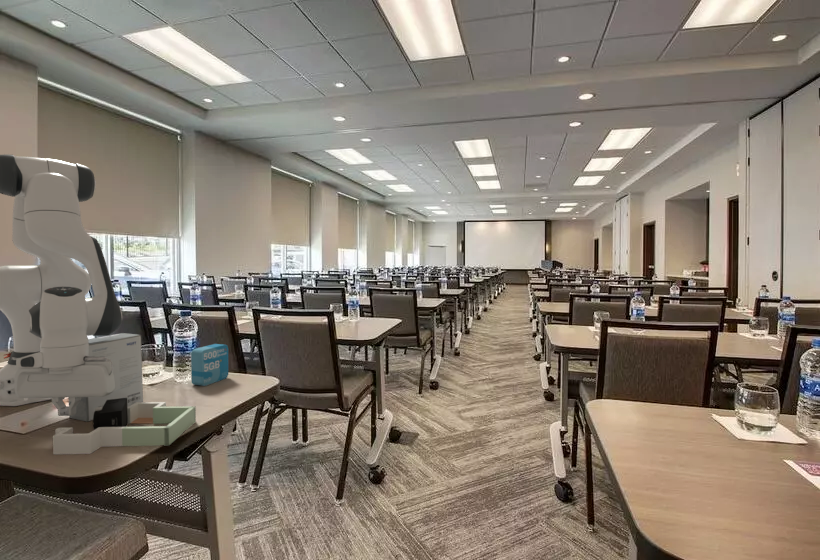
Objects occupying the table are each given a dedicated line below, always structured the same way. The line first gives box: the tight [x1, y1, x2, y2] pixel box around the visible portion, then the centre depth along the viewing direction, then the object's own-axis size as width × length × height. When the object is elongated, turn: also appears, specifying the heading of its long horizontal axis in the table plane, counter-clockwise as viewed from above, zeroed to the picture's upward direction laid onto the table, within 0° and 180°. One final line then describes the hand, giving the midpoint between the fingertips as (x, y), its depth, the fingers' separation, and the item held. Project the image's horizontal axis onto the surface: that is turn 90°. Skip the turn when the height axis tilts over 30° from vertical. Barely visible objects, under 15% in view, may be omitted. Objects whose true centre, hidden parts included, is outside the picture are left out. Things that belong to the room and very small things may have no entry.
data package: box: [190, 343, 229, 387], centre depth 144 cm, size 12×4×12 cm, turn 161°
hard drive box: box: [67, 332, 144, 422], centre depth 116 cm, size 16×8×20 cm, turn 159°
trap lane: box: [52, 401, 197, 455], centre depth 102 cm, size 24×21×4 cm
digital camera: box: [92, 398, 129, 430], centre depth 101 cm, size 10×5×7 cm, turn 28°
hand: (67, 415), depth 100 cm, fingers closed
